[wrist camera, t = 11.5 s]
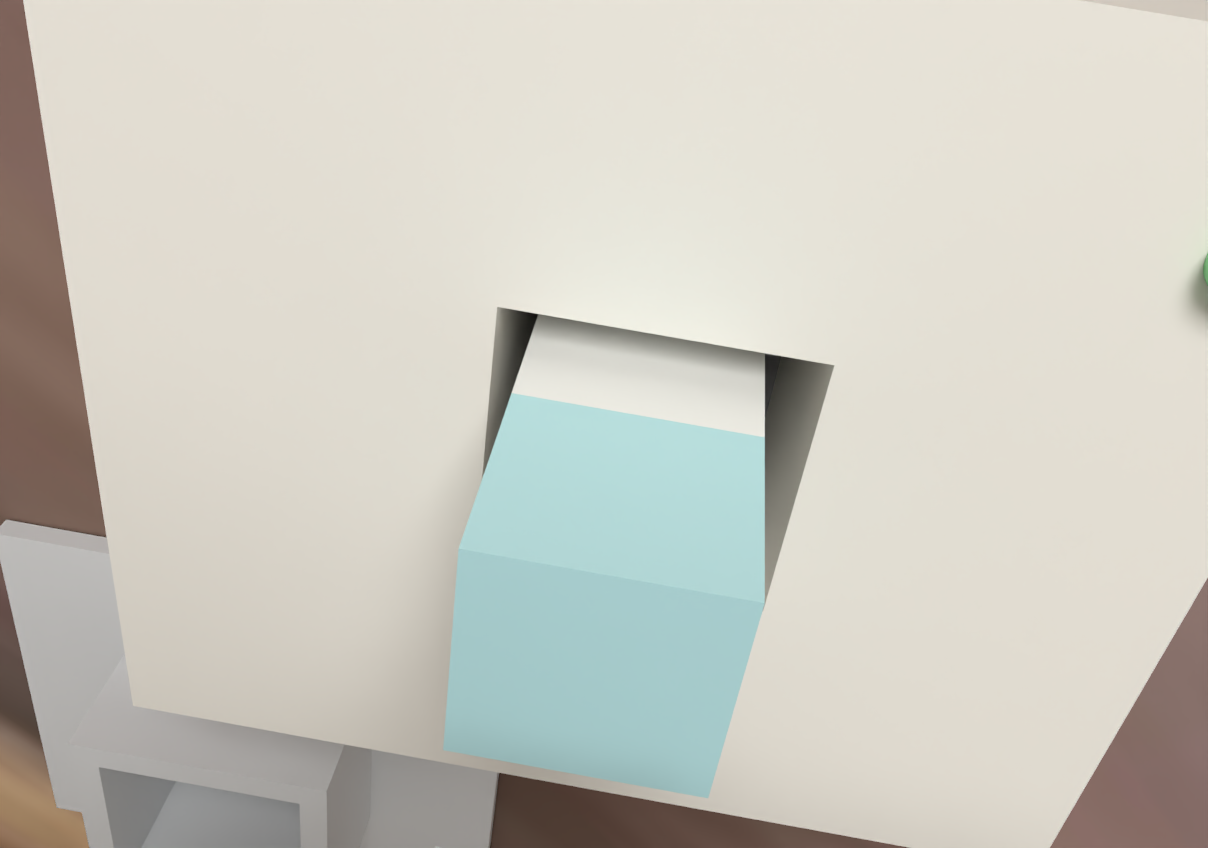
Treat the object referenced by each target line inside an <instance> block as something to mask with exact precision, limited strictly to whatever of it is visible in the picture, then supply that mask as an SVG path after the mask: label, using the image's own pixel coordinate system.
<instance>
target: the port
mask: <svg viewBox="0 0 1208 848" xmlns="http://www.w3.org/2000/svg"><path fill="white" fill-rule="evenodd" d="M23 2H24V8H25V15H26V21H27V28H28V34H29V40H30V47H31V53H32V60H33V66H34V73H35V79H36V85H37V92H38V98H39V105H40V111H41V118H42V124H43V130H44V137H45V143H46V150H47V156H48V163H49V169H50V176H51V182H52V188H53V195H54V201H55V208H56V214H57V221H58V227H59V233H60V240H61V246H62V253H63V259H64V266H65V272H66V278H67V285H68V291H69V298H70V304H71V311H72V317H73V323H74V330H75V336H76V343H77V349H78V356H79V362H80V368H81V375H82V381H83V388H84V394H85V401H86V407H87V413H88V420H89V426H90V433H91V439H92V446H93V452H94V459H95V465H96V471H97V478H98V484H99V491H100V497H101V504H102V510H103V516H104V523H105V529H106V536H107V542H108V549H109V555H110V561H111V568H112V574H113V581H114V587H115V594H116V600H117V606H118V613H119V619H120V626H121V632H122V639H123V645H124V651H125V658H126V664H127V671H128V677H129V684H130V690H131V697H132V703H133V706H136V707H142V708H147V709H153V710H158V711H164V712H169V713H175V714H180V715H186V716H191V717H197V718H202V719H208V720H213V721H219V722H224V723H230V724H235V725H241V726H246V727H252V728H257V729H263V730H268V731H274V732H279V733H284V734H290V735H295V736H301V737H306V738H312V739H317V740H323V741H328V742H334V743H339V744H345V745H350V746H356V747H361V748H367V749H372V750H378V751H383V752H389V753H394V754H400V755H405V756H411V757H416V758H421V759H427V760H432V761H438V762H443V763H449V764H454V765H460V766H465V767H471V768H476V769H482V770H487V771H493V772H498V773H504V774H509V775H515V776H520V777H526V778H531V779H537V780H542V781H548V782H553V783H559V784H564V785H569V786H575V787H580V788H586V789H591V790H597V791H602V792H608V793H613V794H619V795H624V796H630V797H635V798H641V799H646V800H652V801H657V802H663V803H668V804H674V805H679V806H685V807H690V808H696V809H701V810H707V811H712V812H717V813H723V814H728V815H734V816H739V817H745V818H750V819H756V820H761V821H767V822H772V823H778V824H783V825H789V826H794V827H800V828H805V829H811V830H816V831H822V832H827V833H833V834H838V835H844V836H849V837H854V838H860V839H865V840H871V841H876V842H882V843H887V844H893V845H898V846H904V847H909V848H1050V846H1051V845H1052V843H1053V841H1054V839H1055V838H1056V836H1057V834H1058V833H1059V831H1060V829H1061V828H1062V826H1063V824H1064V822H1065V821H1066V819H1067V817H1068V816H1069V814H1070V812H1071V810H1072V809H1073V807H1074V805H1075V804H1076V802H1077V800H1078V798H1079V797H1080V795H1081V793H1082V792H1083V790H1084V788H1085V786H1086V785H1087V783H1088V781H1089V780H1090V778H1091V776H1092V774H1093V773H1094V771H1095V769H1096V768H1097V766H1098V764H1099V763H1100V761H1101V759H1102V757H1103V756H1104V754H1105V752H1106V751H1107V749H1108V747H1109V745H1110V744H1111V742H1112V740H1113V739H1114V737H1115V735H1116V733H1117V732H1118V730H1119V728H1120V727H1121V725H1122V723H1123V721H1124V720H1125V718H1126V716H1127V715H1128V713H1129V711H1130V709H1131V708H1132V706H1133V704H1134V703H1135V701H1136V699H1137V698H1138V696H1139V694H1140V692H1141V691H1142V689H1143V687H1144V686H1145V684H1146V682H1147V680H1148V679H1149V677H1150V675H1151V674H1152V672H1153V670H1154V668H1155V667H1156V665H1157V663H1158V662H1159V660H1160V658H1161V656H1162V655H1163V653H1164V651H1165V650H1166V648H1167V646H1168V644H1169V643H1170V641H1171V639H1172V638H1173V636H1174V634H1175V633H1176V631H1177V629H1178V627H1179V626H1180V624H1181V622H1182V621H1183V619H1184V617H1185V615H1186V614H1187V612H1188V610H1189V609H1190V607H1191V605H1192V603H1193V602H1194V600H1195V598H1196V597H1197V595H1198V593H1199V591H1200V590H1201V588H1202V586H1203V585H1204V583H1205V581H1206V579H1207V578H1208V0H23ZM538 314H541V315H547V316H553V317H559V318H564V319H570V320H576V321H582V322H587V323H593V324H599V325H605V326H610V327H616V328H622V329H628V330H634V331H639V332H645V333H651V334H657V335H662V336H668V337H674V338H680V339H685V340H691V341H697V342H703V343H708V344H714V345H720V346H726V347H732V348H737V349H743V350H749V351H755V352H760V353H765V604H764V607H763V611H762V614H761V618H760V621H759V625H758V628H757V632H756V635H755V638H754V642H753V645H752V649H751V652H750V656H749V659H748V663H747V666H746V670H745V673H744V676H743V680H742V683H741V687H740V690H739V694H738V697H737V701H736V704H735V707H734V711H733V714H732V718H731V721H730V725H729V728H728V732H727V735H726V738H725V742H724V745H723V749H722V752H721V756H720V759H719V763H718V766H717V770H716V773H715V776H714V780H713V783H712V787H711V790H710V794H709V797H708V798H704V797H698V796H693V795H687V794H682V793H676V792H671V791H665V790H660V789H654V788H649V787H643V786H638V785H632V784H627V783H621V782H616V781H610V780H605V779H599V778H594V777H588V776H583V775H577V774H572V773H566V772H561V771H555V770H550V769H544V768H539V767H533V766H528V765H522V764H517V763H511V762H506V761H500V760H495V759H489V758H484V757H478V756H473V755H467V754H462V753H456V752H451V751H445V750H443V745H444V732H445V719H446V706H447V693H448V680H449V667H450V654H451V640H452V627H453V614H454V601H455V588H456V575H457V562H458V549H459V546H460V543H461V540H462V537H463V534H464V531H465V528H466V525H467V522H468V519H469V516H470V513H471V511H472V508H473V505H474V502H475V499H476V496H477V493H478V490H479V487H480V484H481V481H482V478H483V475H484V472H485V469H486V466H487V464H488V461H489V458H490V455H491V452H492V449H493V446H494V443H495V440H496V437H497V434H498V431H499V428H500V425H501V422H502V420H503V417H504V414H505V411H506V408H507V405H508V402H509V399H510V396H511V393H512V390H513V387H514V384H515V381H516V378H517V375H518V373H519V370H520V367H521V364H522V361H523V358H524V355H525V352H526V349H527V346H528V343H529V340H530V337H531V334H532V331H533V329H534V326H535V323H536V320H537V317H538Z"/></svg>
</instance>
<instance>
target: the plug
mask: <svg viewBox="0 0 1208 848" xmlns="http://www.w3.org/2000/svg"><path fill="white" fill-rule="evenodd" d="M764 604H765V353H760V352H755V351H749V350H743V349H737V348H732V347H726V346H720V345H714V344H708V343H703V342H697V341H691V340H685V339H680V338H674V337H668V336H662V335H657V334H651V333H645V332H639V331H634V330H628V329H622V328H616V327H610V326H605V325H599V324H593V323H587V322H582V321H576V320H570V319H564V318H559V317H553V316H547V315H541V314H538V317H537V320H536V323H535V326H534V329H533V331H532V334H531V337H530V340H529V343H528V346H527V349H526V352H525V355H524V358H523V361H522V364H521V367H520V370H519V373H518V375H517V378H516V381H515V384H514V387H513V390H512V393H511V396H510V399H509V402H508V405H507V408H506V411H505V414H504V417H503V420H502V422H501V425H500V428H499V431H498V434H497V437H496V440H495V443H494V446H493V449H492V452H491V455H490V458H489V461H488V464H487V466H486V469H485V472H484V475H483V478H482V481H481V484H480V487H479V490H478V493H477V496H476V499H475V502H474V505H473V508H472V511H471V513H470V516H469V519H468V522H467V525H466V528H465V531H464V534H463V537H462V540H461V543H460V546H459V549H458V562H457V575H456V588H455V601H454V614H453V627H452V640H451V654H450V667H449V680H448V693H447V706H446V719H445V732H444V745H443V750H445V751H451V752H456V753H462V754H467V755H473V756H478V757H484V758H489V759H495V760H500V761H506V762H511V763H517V764H522V765H528V766H533V767H539V768H544V769H550V770H555V771H561V772H566V773H572V774H577V775H583V776H588V777H594V778H599V779H605V780H610V781H616V782H621V783H627V784H632V785H638V786H643V787H649V788H654V789H660V790H665V791H671V792H676V793H682V794H687V795H693V796H698V797H704V798H708V797H709V794H710V790H711V787H712V783H713V780H714V776H715V773H716V770H717V766H718V763H719V759H720V756H721V752H722V749H723V745H724V742H725V738H726V735H727V732H728V728H729V725H730V721H731V718H732V714H733V711H734V707H735V704H736V701H737V697H738V694H739V690H740V687H741V683H742V680H743V676H744V673H745V670H746V666H747V663H748V659H749V656H750V652H751V649H752V645H753V642H754V638H755V635H756V632H757V628H758V625H759V621H760V618H761V614H762V611H763V607H764Z"/></svg>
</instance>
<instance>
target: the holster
mask: <svg viewBox="0 0 1208 848" xmlns="http://www.w3.org/2000/svg"><path fill="white" fill-rule="evenodd" d="M0 562H1V566H2V571H3V575H4V579H5V584H6V588H7V592H8V597H9V601H10V605H11V610H12V614H13V619H14V623H15V627H16V632H17V636H18V640H19V645H20V649H21V653H22V658H23V662H24V667H25V671H26V675H27V680H28V684H29V688H30V693H31V697H32V702H33V706H34V710H35V715H36V719H37V723H38V728H39V732H40V736H41V741H42V745H43V750H44V754H45V758H46V763H47V767H48V771H49V776H50V780H51V784H52V789H53V793H54V798H55V802H56V806H57V808H61V809H67V810H72V811H77V812H82V815H83V820H84V825H85V829H86V834H87V839H88V844H89V848H435V847H441V848H490V844H491V836H492V828H493V820H494V811H495V803H496V795H497V787H498V778H499V773H498V772H493V771H487V770H482V769H476V768H471V767H465V766H460V765H454V764H449V763H443V762H438V761H432V760H427V759H421V758H416V757H411V756H405V755H400V754H394V753H389V752H383V751H378V750H372V749H367V748H361V747H356V746H350V745H345V744H339V743H334V742H328V741H323V740H317V739H312V738H306V737H301V736H295V735H290V734H284V733H279V732H274V731H268V730H263V729H257V728H252V727H246V726H241V725H235V724H230V723H224V722H219V721H213V720H208V719H202V718H197V717H191V716H186V715H180V714H175V713H169V712H164V711H158V710H153V709H147V708H142V707H136V706H133V703H132V697H131V690H130V684H129V677H128V671H127V664H126V658H125V651H124V645H123V639H122V632H121V626H120V619H119V613H118V606H117V600H116V594H115V587H114V581H113V574H112V568H111V561H110V555H109V549H108V542H107V538H106V537H100V536H95V535H89V534H84V533H78V532H72V531H67V530H61V529H56V528H50V527H44V526H39V525H33V524H28V523H22V522H17V521H11V520H5V521H4V523H3V524H2V525H1V526H0Z"/></svg>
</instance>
